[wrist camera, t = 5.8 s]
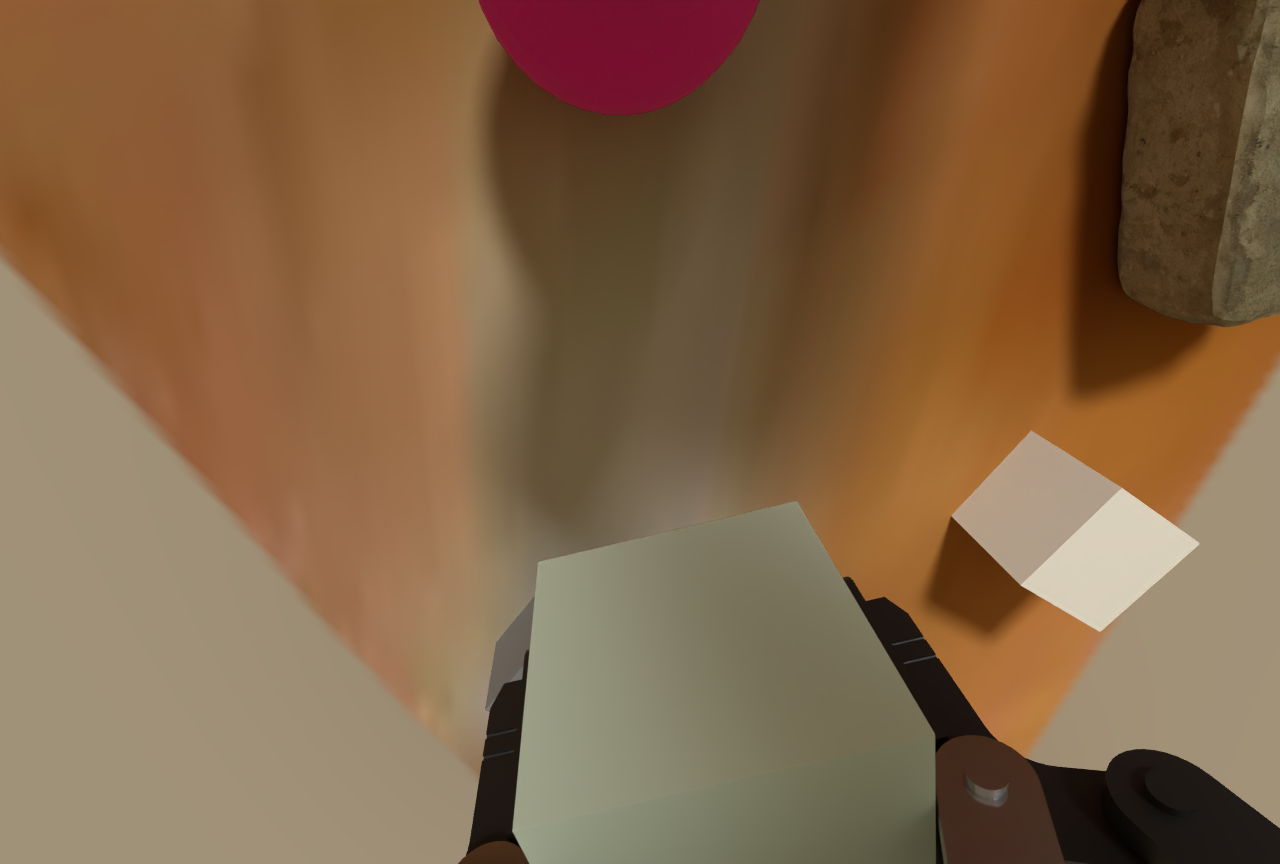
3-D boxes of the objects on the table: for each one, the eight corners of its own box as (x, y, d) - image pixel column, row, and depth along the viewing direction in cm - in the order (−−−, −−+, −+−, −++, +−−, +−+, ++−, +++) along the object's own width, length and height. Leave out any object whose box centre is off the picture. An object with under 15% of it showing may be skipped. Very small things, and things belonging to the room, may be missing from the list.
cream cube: (950, 514, 28) (1020, 585, 24) (1030, 429, 27) (1121, 487, 22) (1021, 558, 30) (1100, 631, 25) (1100, 479, 28) (1199, 543, 24)
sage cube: (602, 734, 14) (613, 1022, 9) (538, 561, 12) (512, 831, 7) (819, 684, 14) (935, 950, 9) (796, 500, 12) (935, 734, 7)
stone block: (1102, 308, 25) (1218, 344, 20) (1113, -27, 20) (1269, -79, 15) (1246, 264, 24) (1396, 290, 20) (1293, -87, 20) (1505, -158, 15)
